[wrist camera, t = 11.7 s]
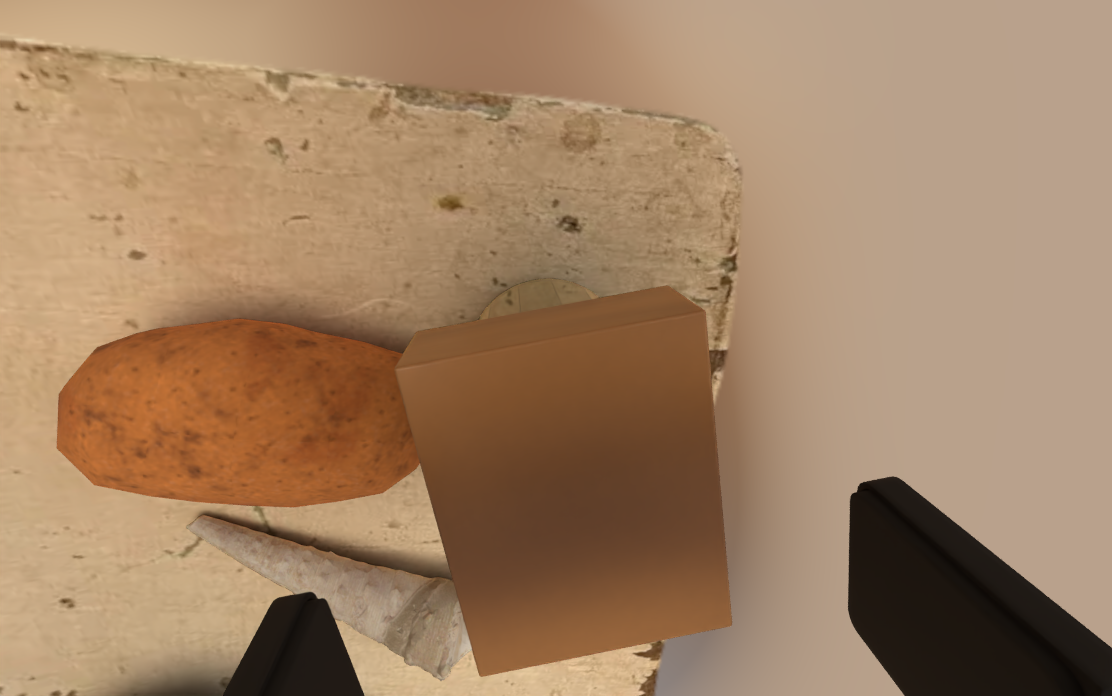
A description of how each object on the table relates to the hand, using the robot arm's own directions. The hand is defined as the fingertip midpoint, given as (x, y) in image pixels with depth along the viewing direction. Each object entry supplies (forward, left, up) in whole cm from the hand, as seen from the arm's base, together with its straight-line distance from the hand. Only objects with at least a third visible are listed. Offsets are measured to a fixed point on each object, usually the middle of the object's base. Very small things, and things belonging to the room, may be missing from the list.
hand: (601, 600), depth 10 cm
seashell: (+10, -11, -16) cm, 22 cm away
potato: (0, -11, -16) cm, 19 cm away
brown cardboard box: (+1, 0, -7) cm, 7 cm away
